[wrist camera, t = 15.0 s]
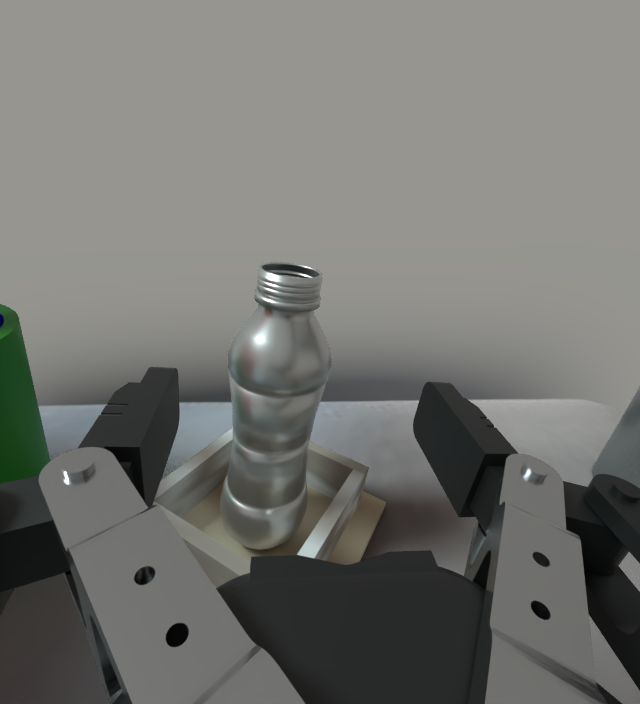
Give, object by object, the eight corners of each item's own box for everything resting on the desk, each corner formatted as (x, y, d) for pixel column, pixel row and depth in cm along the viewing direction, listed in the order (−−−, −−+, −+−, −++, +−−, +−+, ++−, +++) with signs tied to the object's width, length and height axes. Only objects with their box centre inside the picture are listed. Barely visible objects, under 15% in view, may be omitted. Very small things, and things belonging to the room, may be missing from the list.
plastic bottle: (309, 500, 32) (351, 268, 24) (292, 574, 26) (342, 295, 17) (236, 483, 32) (253, 251, 24) (203, 553, 26) (210, 271, 18)
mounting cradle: (240, 438, 39) (243, 399, 37) (384, 508, 33) (396, 467, 31) (94, 555, 26) (87, 504, 24) (292, 706, 20) (304, 656, 18)
